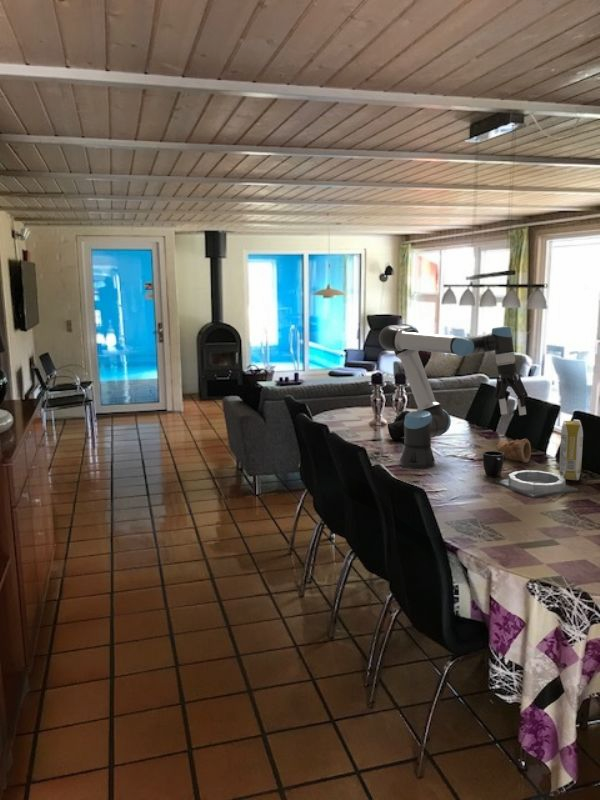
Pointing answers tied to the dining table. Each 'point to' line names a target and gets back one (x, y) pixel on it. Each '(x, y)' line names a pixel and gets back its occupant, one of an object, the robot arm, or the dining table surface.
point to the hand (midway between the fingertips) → (513, 414)
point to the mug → (493, 463)
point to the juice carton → (571, 449)
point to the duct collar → (537, 483)
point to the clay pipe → (515, 450)
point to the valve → (397, 426)
